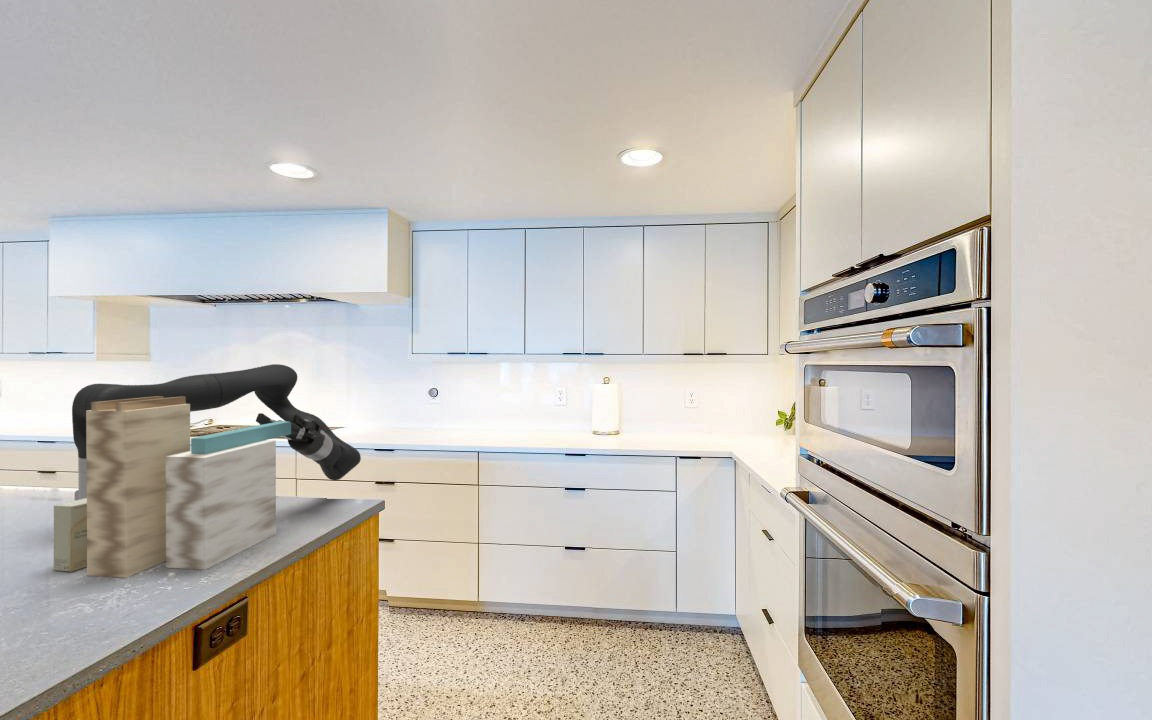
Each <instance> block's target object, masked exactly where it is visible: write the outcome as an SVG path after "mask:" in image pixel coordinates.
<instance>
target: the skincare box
mask: <svg viewBox="0 0 1152 720" xmlns="http://www.w3.org/2000/svg"><path fill="white" fill-rule="evenodd" d="M86 567H87V498H84V499H80V500H76V501H75V500H72V501H68V502H64V503H59V504H55V505H53V571H61V572H75V571H78V570H81V569H83V568H86Z"/></svg>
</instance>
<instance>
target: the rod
mask: <svg viewBox="0 0 1152 720" xmlns="http://www.w3.org/2000/svg"><path fill="white" fill-rule="evenodd" d="M289 434H291V423H290V422H286V421H284V420H282V421H279V422H273V423H268V424H263V425H260V424H258V425H253V426H247V427H243V428H237V429H233V430H227V431H223V432H217V433H212V434H208V435H207V434H206V435H202V436H196V437H190V451H191V454H209V453H213V452H217V451H221V450H226V449H230V448H234V447H238V446H243V445H247V444H251V443H255V442H260V441H264V440H271V439H272V440H273V439H277V438H280V437H282V436H285V435H289Z"/></svg>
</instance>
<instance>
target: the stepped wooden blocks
mask: <svg viewBox="0 0 1152 720" xmlns="http://www.w3.org/2000/svg"><path fill="white" fill-rule="evenodd" d="M276 442H277V441H276V440H273V439H272V440H271V439H268V440H264V441H260V442H255V443H251V444H247V445H243V446H238V447H234V448H230V449H226V450H221V451H217V452H213V453H209V454H191V412H190V404H186V397H182V396H181V397H171V398H163V396H155V397H144V398H133V399H122V400H111V401H100V402H91V410H86V454H87V568H86V570H87V571H86V573H87V574H86V576H91V577H92V576H93V577H108V578H122V579H123V578H125V579H127V578H129V577H131V576H134V575H136V574H138V573H140V572H143V571H146V570H147V569H149V568H152V567H154V566H156V565H159V564H162V563H164V562H165V568H167V569H169V568H170V569H183V570H184V569H185V570H201V571H204V570H205V571H206V570H207V569H210V568H212V567H214V566H216V565H217V564H220V563H221V562H224V561H225V560H227V559H229V558H232V557H233V556H235V555H237V554H239V553H241V552H243V551H245V550H247V549H249V548H251V547H253V546H255V545H257V544H259V543H261V542H264V541H265V540H267V539H269V538H271V537H273V536H276V534H277V532H276V531H277V529H276V528H277V527H276V526H277V512H276V511H277V509H276V508H277V507H276V506H277V498H276V497H277V495H276V494H277V492H276V491H277V487H276V486H277V484H276V483H277V481H276V480H277V476H276V475H277V473H276V472H277V468H276V467H277V466H276V465H277V463H276V462H277V459H276V458H277V457H276V456H277V455H276V454H277V453H276V452H277V449H276V448H277V443H276Z"/></svg>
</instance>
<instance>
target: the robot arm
mask: <svg viewBox="0 0 1152 720" xmlns="http://www.w3.org/2000/svg"><path fill="white" fill-rule="evenodd" d="M297 382H298V373H297V371H295V370H294V368H292V367H290V366H288V365H285V364H280V363H279V364H278V363H277V364H276V363H275V364H274V363H273V364H267V365H262V366H257V367H253V368H248V369H242V370H233V371H227V372H217V373H216V372H215V373H206V374H204V373H203V374H194V375H193V374H192V375H188V376H183V377H178V378H176V379H172V380H170V381H167V382H161V383H155V384H118V383H116V384H115V383H93V384H89V385H86V386H84V387H82V388H81V389H79V390H78V392H77V393H76V394H75V396H74V398H73V401H72V406H71V417H72V418H71V419H72V420H71V421H72V435H73V442H74V444H75V447H76V450H77V458H78V461H77V462H78V463H77V465H78V467H77V469H78V471H77V472H78V474H77V475H78V490H75V491H74V501H76V500H80V499H84V498H87V454H86V410H91V402H100V401H111V400H122V399H133V398H144V397H155V396H163V398H171V397H181V396H182V397H186V404H190V413H192V412H200V411H205V410H213V409H217V408H221V407H224V406H226V405H229V404H231V403H233V402H235V401H237V400H239V399H240V398H243V397H245V396H247V395H249V394H250V393H253V392H254V393H255V396H256V398H258V400H259V401H260V402H261V403H262V404H264V405H265V406H266V407H267V408H269V409H270V410H271V411H272V412H273V413H274V414H275V415H277V417H279V418H281V419H279V420H275V419H272V418H270V417H269V416H268V415H266V414H264V413H262V412H261V413H260V412H259V413H258V414H257V417H256V419H255V422H256V423H257V424H258V425H263V424H268V423H273V422H279V421H286V422H290V423H291V434H289V435H285V436H281V437H282V438H283V439H286V440H287V443H288V445H289V447H290V448H291V449H292V450H293V451H296V452H298V453H299V454H301V455H302V456H304V457H305V458H307V459H310V460H312V461H314V463H316V464H318V465H319V466H320V469H321V471H322V473H323V474H324V476H325V477H326V478H327V479H329V480H331V481H339V480H341V479H343V478H344V477H345V476H346V475H347V474H349V473H350V472H351V471H352V470H353V469H354V468H356V467H357V466H358V465H359V464H360V462H361V461H362V460H361V459H362V457H361V454H360V451H358V450H357V448H355V447H354V446H352V445H351V444H349V443H347V442H345V441H344V440H342V439H340V438H339V437H338V436H337V435H336V433H334V432H333V431H332V430H331V429H330V427H328V425H327V424H326V423H325V421H323V420H322V419H321V418H319V417H318V416H316V415H315V414H312V413H309V412H306V411H303V410H301V409H298V408H296V406H294V405H293V404H292V403H291V401H290V400H289V396H290V394H291V393H292V391H293V390H294V388H295V386H296V384H297Z"/></svg>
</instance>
